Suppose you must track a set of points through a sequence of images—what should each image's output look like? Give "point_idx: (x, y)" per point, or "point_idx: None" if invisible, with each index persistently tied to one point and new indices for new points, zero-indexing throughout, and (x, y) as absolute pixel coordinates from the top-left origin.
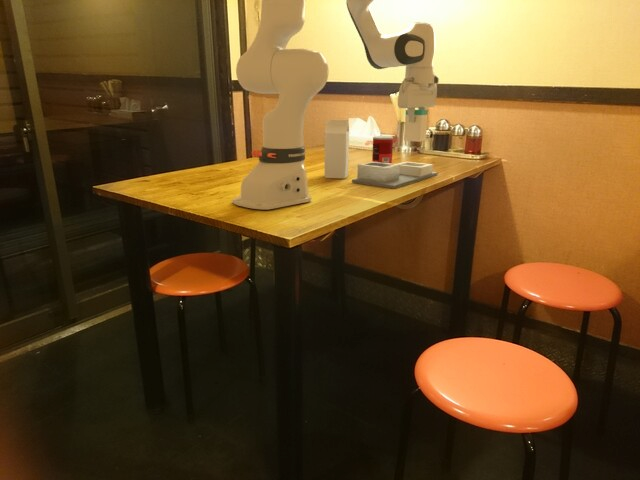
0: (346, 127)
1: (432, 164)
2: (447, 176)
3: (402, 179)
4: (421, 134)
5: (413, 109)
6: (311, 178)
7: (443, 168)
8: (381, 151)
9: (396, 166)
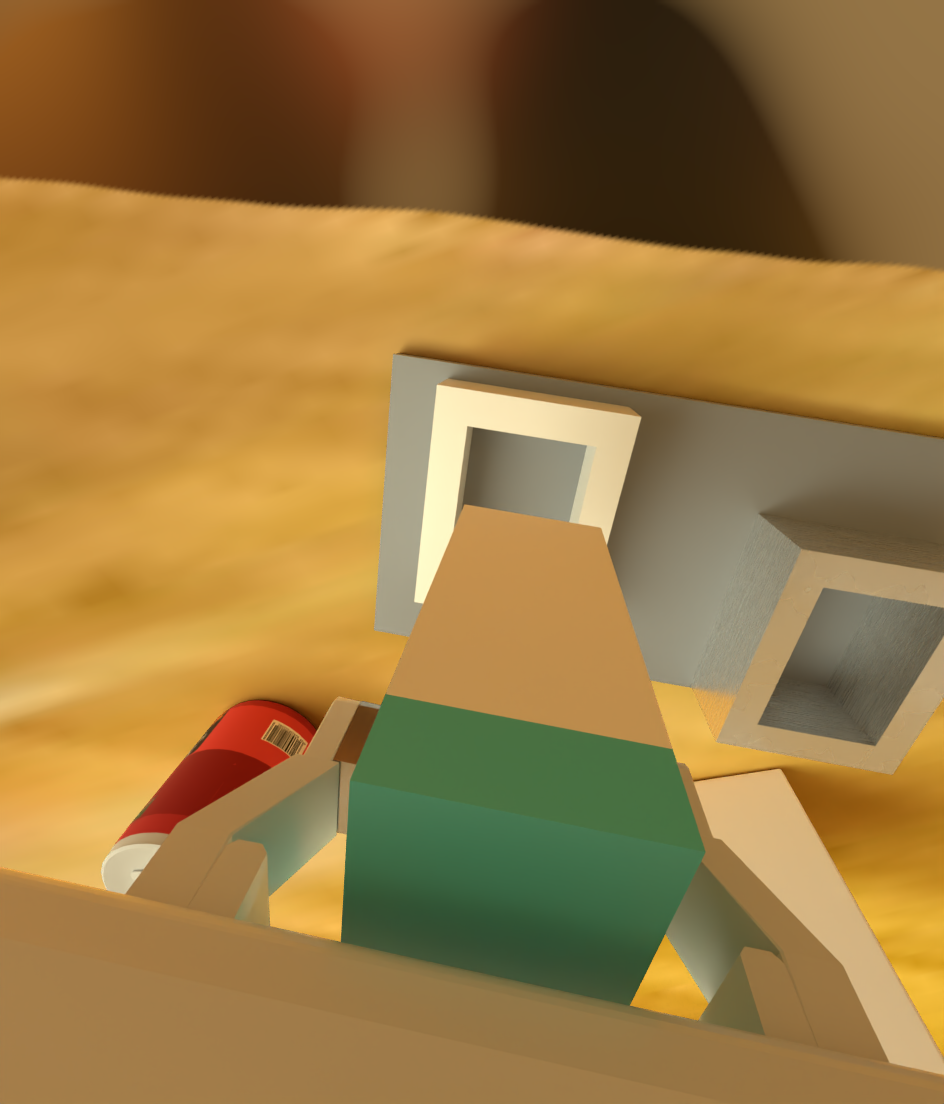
0: None
1: (440, 388)
2: (405, 266)
3: (791, 482)
4: (582, 555)
5: (851, 1024)
6: None
7: (121, 399)
8: None
9: (851, 554)
